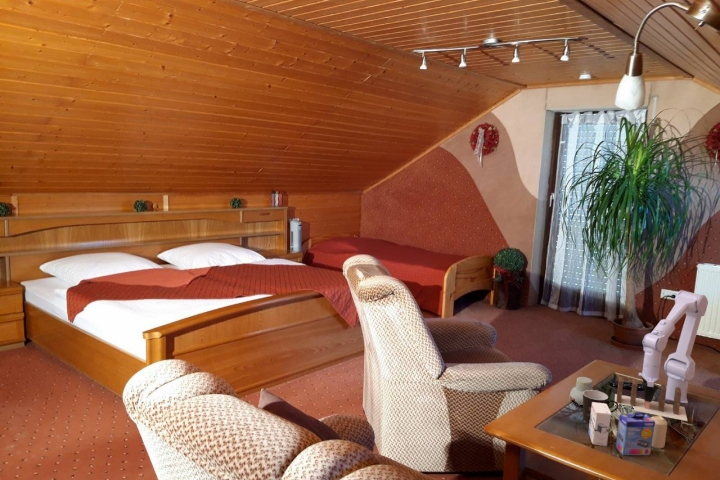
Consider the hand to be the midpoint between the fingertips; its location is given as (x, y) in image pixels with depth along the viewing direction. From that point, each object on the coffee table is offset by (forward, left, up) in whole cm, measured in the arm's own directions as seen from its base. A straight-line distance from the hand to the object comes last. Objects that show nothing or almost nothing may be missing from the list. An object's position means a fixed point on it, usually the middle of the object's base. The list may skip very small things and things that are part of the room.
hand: (647, 397), depth 225 cm
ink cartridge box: (+40, -5, -4) cm, 41 cm away
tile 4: (0, -5, -4) cm, 6 cm away
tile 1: (0, +10, -4) cm, 11 cm away
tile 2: (0, +5, -4) cm, 6 cm away
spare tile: (0, 0, -4) cm, 4 cm away
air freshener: (+9, -23, -4) cm, 25 cm away
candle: (+31, +2, -4) cm, 31 cm away
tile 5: (0, -10, -4) cm, 11 cm away
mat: (0, +1, -4) cm, 4 cm away
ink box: (+37, -16, -4) cm, 41 cm away
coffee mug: (+23, -17, -4) cm, 29 cm away
